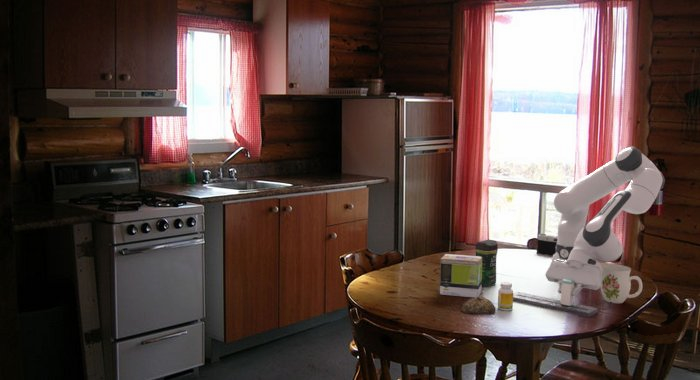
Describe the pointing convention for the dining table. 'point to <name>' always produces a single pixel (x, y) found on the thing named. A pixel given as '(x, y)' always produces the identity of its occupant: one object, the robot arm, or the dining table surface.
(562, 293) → the fader knob
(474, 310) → the bread roll
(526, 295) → the fader track
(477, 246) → the coffee jar
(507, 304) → the supplement bottle
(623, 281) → the pitcher
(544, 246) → the camera
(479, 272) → the tea box
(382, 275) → the dining table surface
